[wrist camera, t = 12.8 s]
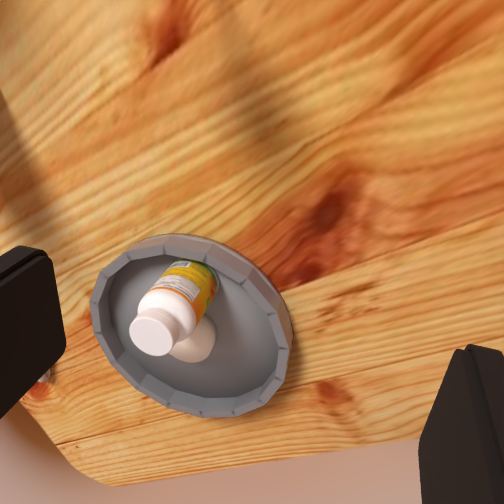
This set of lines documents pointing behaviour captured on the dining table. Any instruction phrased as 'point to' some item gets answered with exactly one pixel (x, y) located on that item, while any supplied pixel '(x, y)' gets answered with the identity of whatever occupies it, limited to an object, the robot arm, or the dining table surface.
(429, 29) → the dining table surface
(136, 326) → the supplement bottle
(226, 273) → the ring tray
